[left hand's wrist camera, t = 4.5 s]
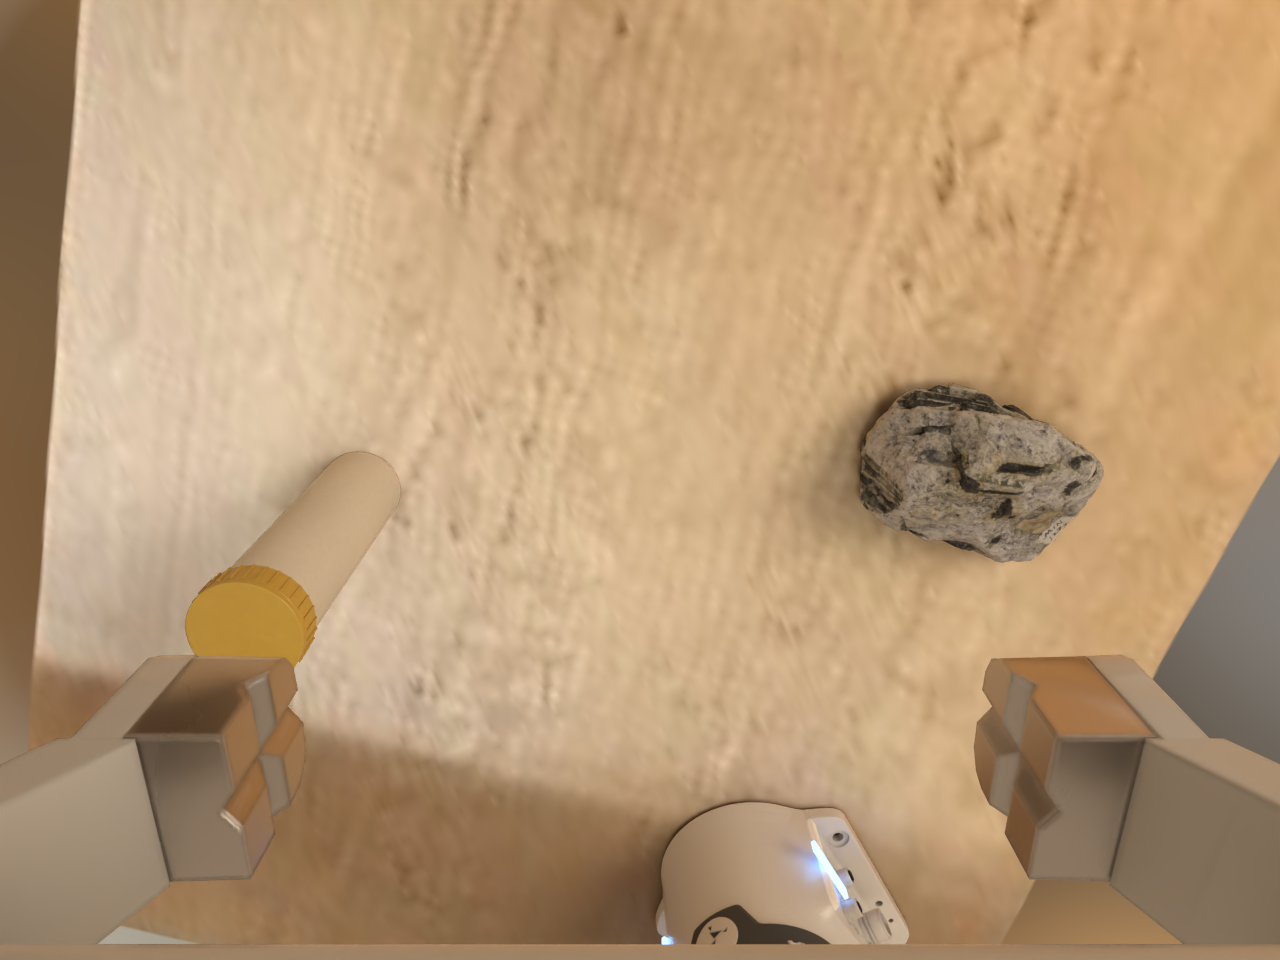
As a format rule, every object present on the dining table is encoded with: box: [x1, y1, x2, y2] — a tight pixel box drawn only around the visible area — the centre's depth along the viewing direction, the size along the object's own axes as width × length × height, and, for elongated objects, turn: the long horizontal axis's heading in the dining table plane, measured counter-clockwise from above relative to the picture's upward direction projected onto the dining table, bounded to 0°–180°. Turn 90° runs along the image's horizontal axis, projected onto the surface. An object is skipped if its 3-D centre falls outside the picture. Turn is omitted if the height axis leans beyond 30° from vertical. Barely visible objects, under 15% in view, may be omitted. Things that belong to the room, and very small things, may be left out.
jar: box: [231, 452, 401, 627], centre depth 52 cm, size 5×5×19 cm
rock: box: [859, 384, 1103, 562], centre depth 57 cm, size 15×10×7 cm
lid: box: [185, 564, 317, 668], centre depth 44 cm, size 6×6×2 cm
